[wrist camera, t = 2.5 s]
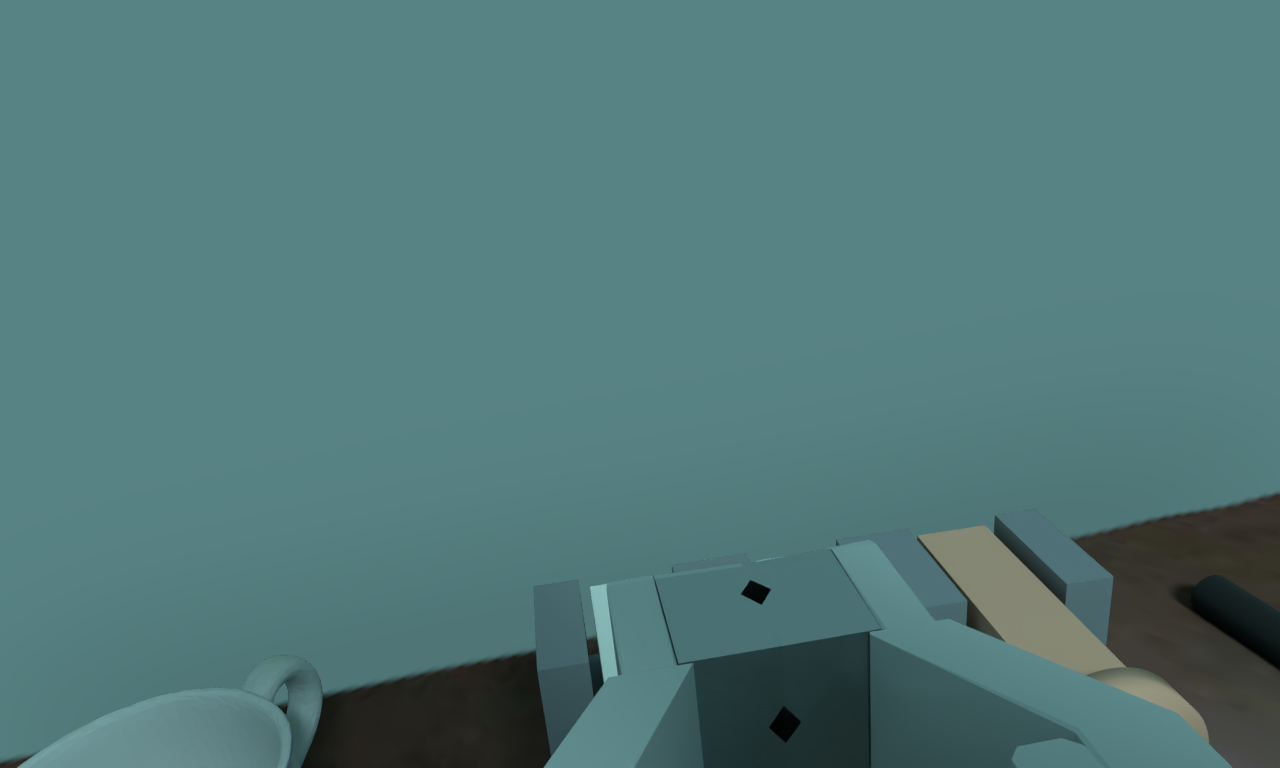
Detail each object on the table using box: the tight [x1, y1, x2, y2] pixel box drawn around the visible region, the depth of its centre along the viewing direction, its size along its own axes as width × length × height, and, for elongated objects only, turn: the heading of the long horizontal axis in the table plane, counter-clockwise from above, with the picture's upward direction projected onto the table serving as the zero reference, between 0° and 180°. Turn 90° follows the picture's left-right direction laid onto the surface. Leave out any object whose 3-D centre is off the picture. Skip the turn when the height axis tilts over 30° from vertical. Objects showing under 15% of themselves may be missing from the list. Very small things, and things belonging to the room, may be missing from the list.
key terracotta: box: [917, 525, 1209, 744], centre depth 31 cm, size 5×11×5 cm, turn 8°
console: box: [534, 509, 1113, 757], centre depth 35 cm, size 20×5×10 cm, turn 98°
